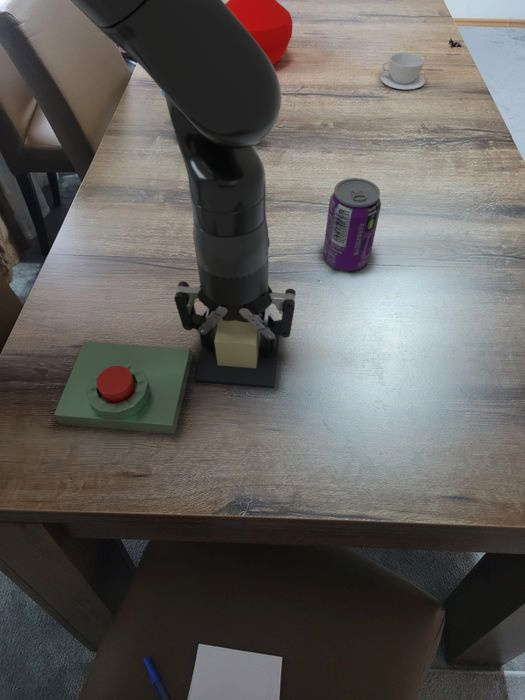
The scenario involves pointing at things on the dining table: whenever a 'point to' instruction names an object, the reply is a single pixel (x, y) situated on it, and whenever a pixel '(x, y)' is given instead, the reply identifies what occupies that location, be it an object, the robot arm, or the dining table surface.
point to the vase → (265, 24)
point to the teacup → (403, 71)
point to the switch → (115, 383)
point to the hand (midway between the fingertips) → (239, 348)
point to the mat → (238, 369)
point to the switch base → (147, 398)
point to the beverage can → (351, 223)
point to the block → (237, 344)
